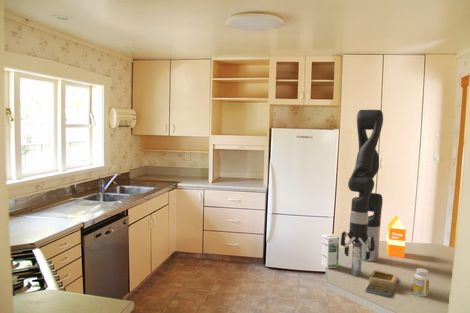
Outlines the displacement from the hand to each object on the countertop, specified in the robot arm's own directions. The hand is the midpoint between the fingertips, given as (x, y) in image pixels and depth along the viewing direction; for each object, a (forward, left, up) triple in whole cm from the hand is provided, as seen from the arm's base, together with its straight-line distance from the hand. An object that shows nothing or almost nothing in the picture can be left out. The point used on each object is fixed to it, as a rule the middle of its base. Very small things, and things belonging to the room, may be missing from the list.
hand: (356, 257), depth 159 cm
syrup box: (-3, -13, -8) cm, 16 cm away
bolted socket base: (+5, +12, -8) cm, 15 cm away
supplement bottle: (+4, +26, -8) cm, 27 cm away
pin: (0, 0, -8) cm, 8 cm away
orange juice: (-41, +10, -8) cm, 43 cm away
